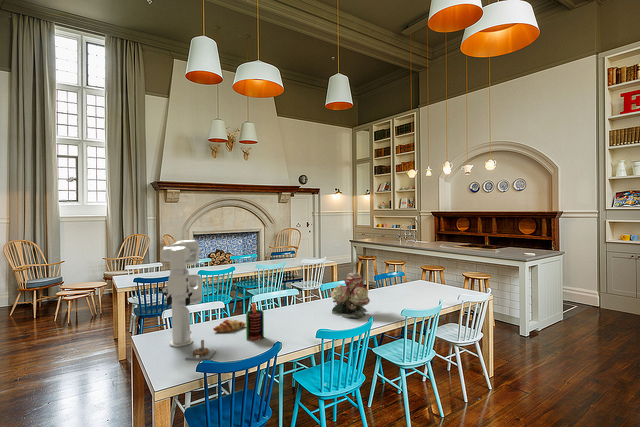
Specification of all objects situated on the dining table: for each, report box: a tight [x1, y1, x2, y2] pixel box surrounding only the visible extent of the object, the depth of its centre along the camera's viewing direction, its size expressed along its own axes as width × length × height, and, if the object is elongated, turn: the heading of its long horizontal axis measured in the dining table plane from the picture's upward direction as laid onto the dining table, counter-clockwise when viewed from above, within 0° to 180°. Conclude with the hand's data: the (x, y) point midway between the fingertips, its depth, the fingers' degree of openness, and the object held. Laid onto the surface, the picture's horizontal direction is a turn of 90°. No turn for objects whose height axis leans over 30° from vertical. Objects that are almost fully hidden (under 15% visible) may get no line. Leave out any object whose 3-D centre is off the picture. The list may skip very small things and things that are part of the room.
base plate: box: [185, 349, 217, 361], centre depth 184 cm, size 10×12×2 cm
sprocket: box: [192, 339, 210, 357], centre depth 184 cm, size 8×8×6 cm
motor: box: [245, 303, 265, 342], centre depth 209 cm, size 10×9×20 cm
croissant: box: [213, 319, 246, 333], centre depth 224 cm, size 21×10×8 cm, turn 124°
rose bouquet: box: [329, 272, 371, 320], centre depth 254 cm, size 26×29×30 cm
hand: (178, 304), depth 183 cm, fingers open, 9 cm apart
